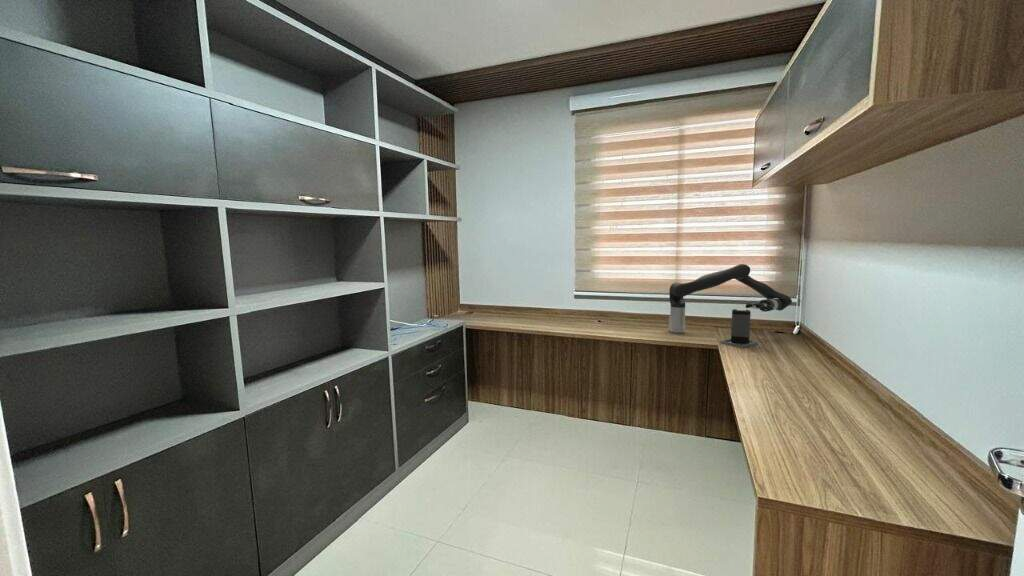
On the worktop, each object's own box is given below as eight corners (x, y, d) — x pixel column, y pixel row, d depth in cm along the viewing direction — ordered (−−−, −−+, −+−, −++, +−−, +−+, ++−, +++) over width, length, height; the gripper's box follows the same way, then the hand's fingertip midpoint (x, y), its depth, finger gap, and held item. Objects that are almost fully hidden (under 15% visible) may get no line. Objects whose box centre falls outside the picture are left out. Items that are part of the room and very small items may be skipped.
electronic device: (748, 343, 234) (750, 310, 232) (749, 345, 229) (750, 311, 226) (730, 341, 238) (732, 309, 236) (730, 343, 233) (732, 310, 231)
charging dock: (720, 343, 236) (720, 340, 235) (735, 339, 243) (736, 337, 243) (741, 348, 224) (741, 345, 224) (757, 343, 232) (757, 341, 232)
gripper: (756, 297, 252) (742, 299, 244) (781, 300, 240) (766, 302, 232) (756, 309, 253) (741, 311, 245) (780, 312, 240) (765, 315, 232)
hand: (753, 307), depth 238 cm, fingers open, 8 cm apart
